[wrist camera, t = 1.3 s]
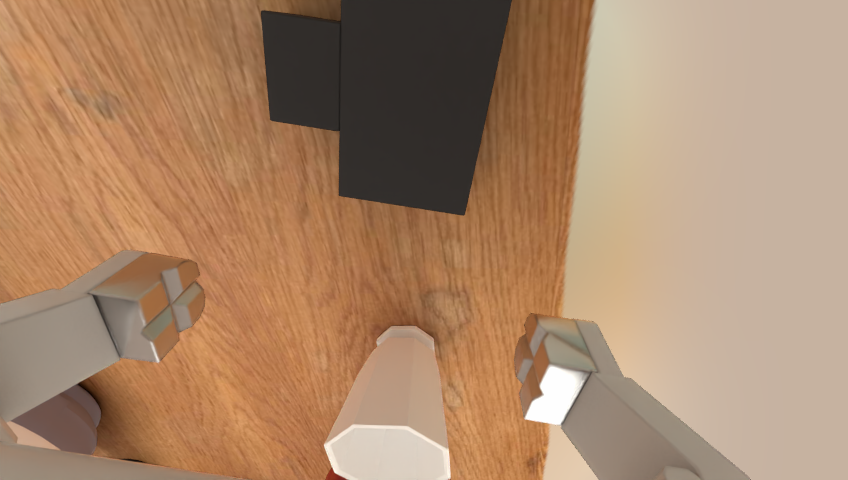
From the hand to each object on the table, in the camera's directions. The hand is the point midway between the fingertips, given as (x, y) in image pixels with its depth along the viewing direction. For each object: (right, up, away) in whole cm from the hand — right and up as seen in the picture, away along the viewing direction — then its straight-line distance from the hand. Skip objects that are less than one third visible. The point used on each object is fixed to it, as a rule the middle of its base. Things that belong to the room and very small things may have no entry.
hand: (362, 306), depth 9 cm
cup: (0, -7, +18) cm, 19 cm away
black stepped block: (0, +9, +8) cm, 12 cm away
